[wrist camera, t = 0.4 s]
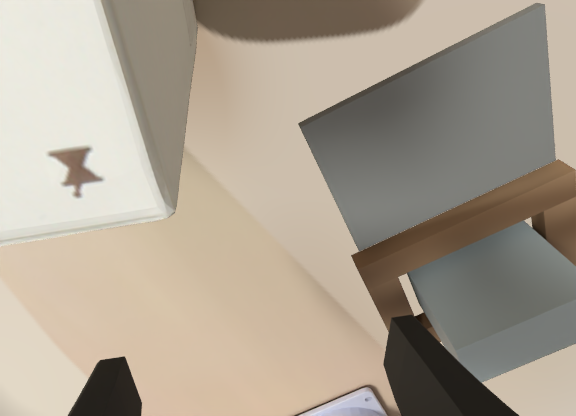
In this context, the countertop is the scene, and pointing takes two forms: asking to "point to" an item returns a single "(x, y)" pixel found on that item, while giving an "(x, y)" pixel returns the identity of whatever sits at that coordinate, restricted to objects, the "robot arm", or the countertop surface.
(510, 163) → the rubber mat
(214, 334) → the countertop surface
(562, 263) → the painted block
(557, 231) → the walnut frame
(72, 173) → the small box
